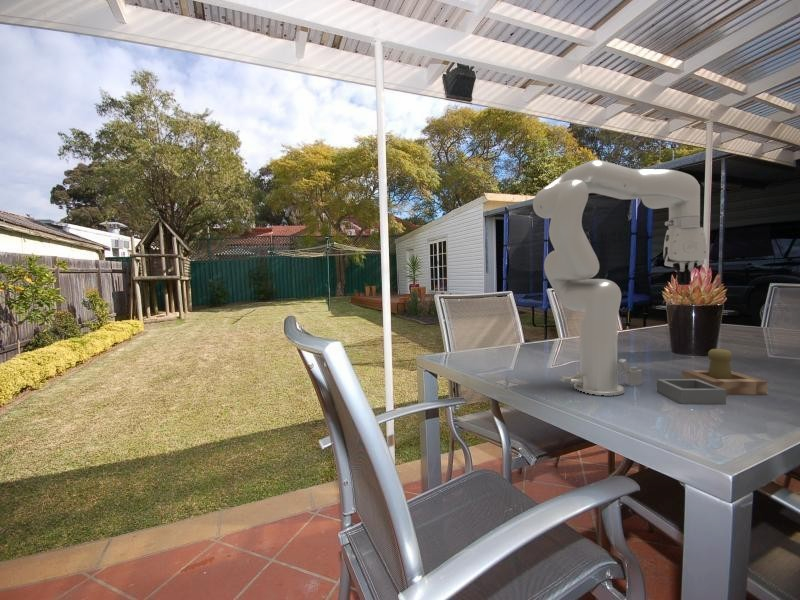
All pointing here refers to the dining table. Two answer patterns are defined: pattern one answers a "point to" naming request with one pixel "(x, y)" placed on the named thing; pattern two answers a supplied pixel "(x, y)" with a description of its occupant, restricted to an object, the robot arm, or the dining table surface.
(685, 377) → the socket block
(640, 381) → the lighter
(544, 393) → the dining table surface
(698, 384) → the grey square frame
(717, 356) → the cork
